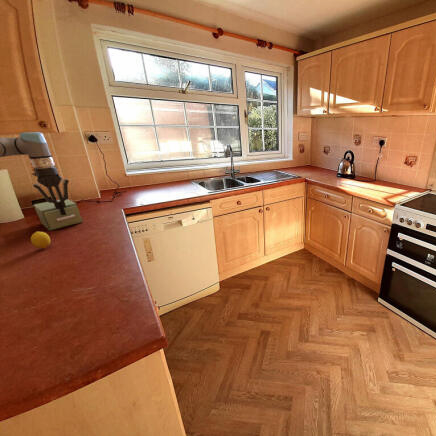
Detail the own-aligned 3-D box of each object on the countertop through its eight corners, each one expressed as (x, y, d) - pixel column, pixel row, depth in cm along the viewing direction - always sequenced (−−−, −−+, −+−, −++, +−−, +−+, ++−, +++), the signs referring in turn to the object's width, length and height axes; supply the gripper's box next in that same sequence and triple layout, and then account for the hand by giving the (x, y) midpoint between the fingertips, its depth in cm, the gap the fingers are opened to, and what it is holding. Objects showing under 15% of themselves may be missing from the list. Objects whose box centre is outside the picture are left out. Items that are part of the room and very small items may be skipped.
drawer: (85, 223, 127) (79, 207, 124) (53, 232, 118) (46, 215, 114) (72, 215, 139) (67, 200, 136) (43, 222, 130) (36, 206, 127)
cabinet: (82, 222, 132) (76, 203, 128) (49, 230, 121) (40, 210, 118) (73, 215, 141) (66, 198, 137) (41, 223, 131) (33, 204, 127)
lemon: (42, 252, 101) (34, 234, 98) (32, 251, 102) (23, 234, 99) (56, 245, 106) (49, 229, 103) (46, 245, 107) (39, 228, 104)
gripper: (26, 170, 106) (48, 220, 115) (65, 165, 116) (82, 212, 125) (23, 168, 110) (44, 216, 119) (60, 164, 120) (77, 209, 129)
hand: (63, 214), depth 122 cm, fingers closed
